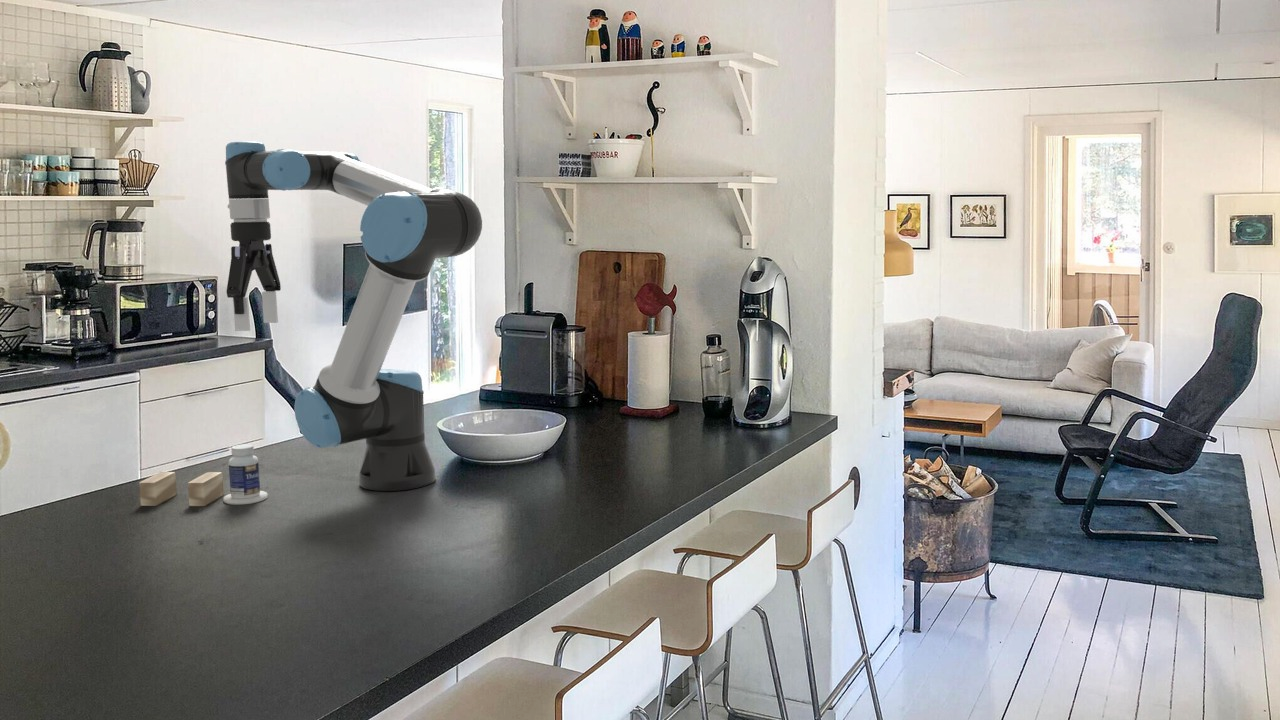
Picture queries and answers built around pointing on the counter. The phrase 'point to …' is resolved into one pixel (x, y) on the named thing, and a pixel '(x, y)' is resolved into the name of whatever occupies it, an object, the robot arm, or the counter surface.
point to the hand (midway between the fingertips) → (257, 326)
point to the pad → (234, 501)
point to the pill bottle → (244, 472)
